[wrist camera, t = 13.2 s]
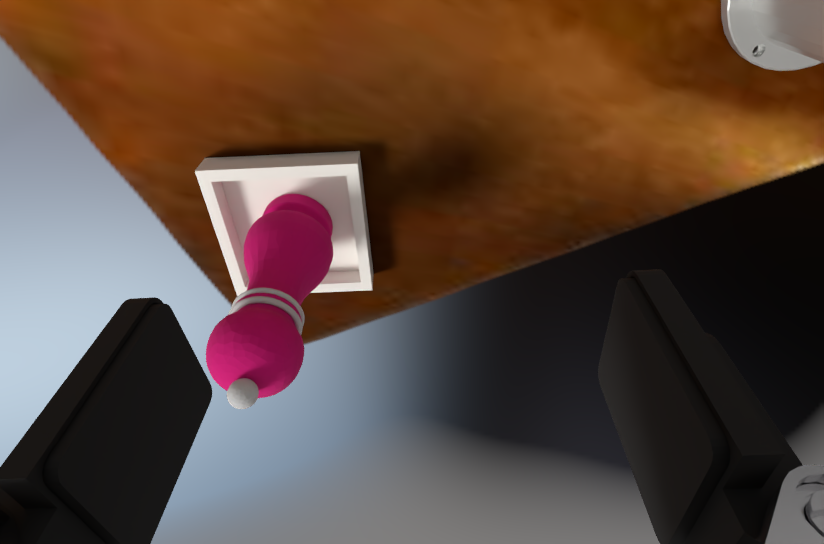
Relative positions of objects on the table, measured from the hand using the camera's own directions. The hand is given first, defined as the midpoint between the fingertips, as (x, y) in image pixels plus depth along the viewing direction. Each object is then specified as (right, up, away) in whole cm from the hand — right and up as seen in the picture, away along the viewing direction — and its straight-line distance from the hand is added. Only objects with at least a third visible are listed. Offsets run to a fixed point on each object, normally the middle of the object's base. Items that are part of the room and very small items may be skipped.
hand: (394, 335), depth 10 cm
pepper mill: (-10, +6, +33) cm, 35 cm away
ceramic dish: (-10, +6, +34) cm, 36 cm away
